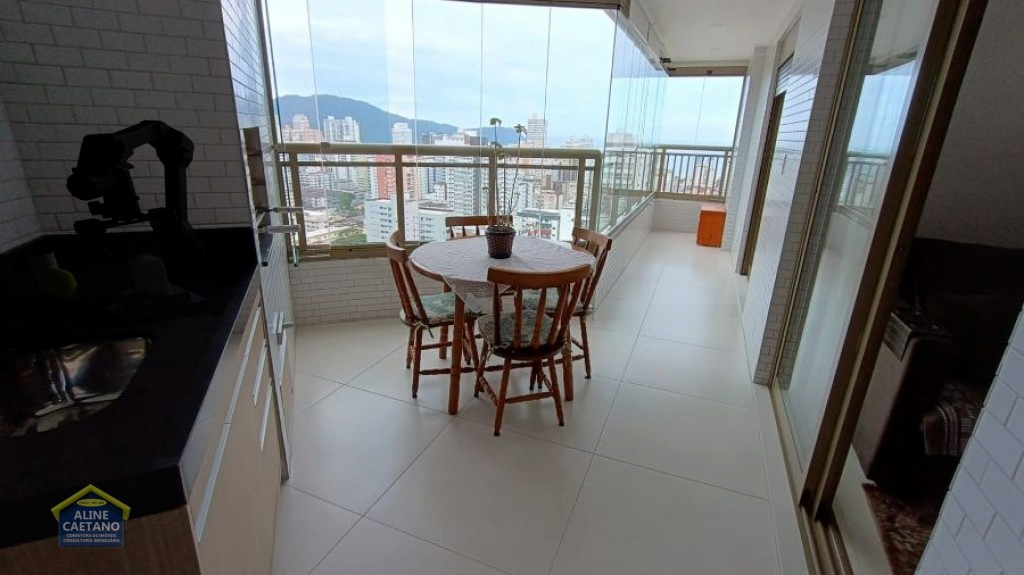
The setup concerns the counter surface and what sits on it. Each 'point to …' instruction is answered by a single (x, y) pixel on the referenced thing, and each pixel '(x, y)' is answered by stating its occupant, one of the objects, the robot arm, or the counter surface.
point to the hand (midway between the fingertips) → (138, 255)
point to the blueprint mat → (135, 316)
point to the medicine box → (148, 274)
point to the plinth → (154, 300)
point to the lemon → (60, 282)
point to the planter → (42, 266)
